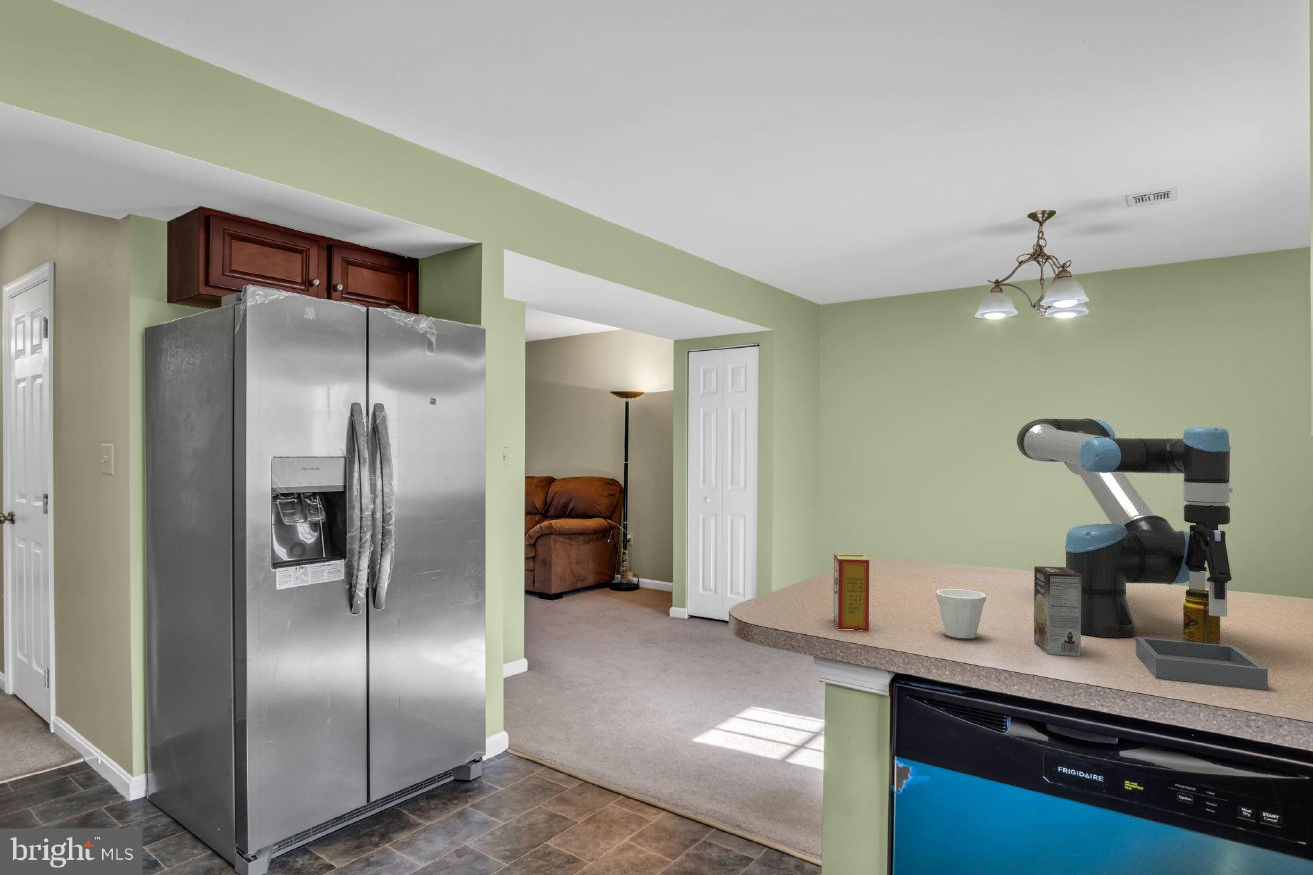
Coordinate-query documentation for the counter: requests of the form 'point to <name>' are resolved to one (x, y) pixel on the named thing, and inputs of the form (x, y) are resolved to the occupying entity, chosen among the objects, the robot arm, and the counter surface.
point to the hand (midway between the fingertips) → (1207, 609)
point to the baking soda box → (851, 591)
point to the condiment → (1199, 619)
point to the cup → (960, 612)
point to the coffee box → (1057, 610)
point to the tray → (1201, 663)
